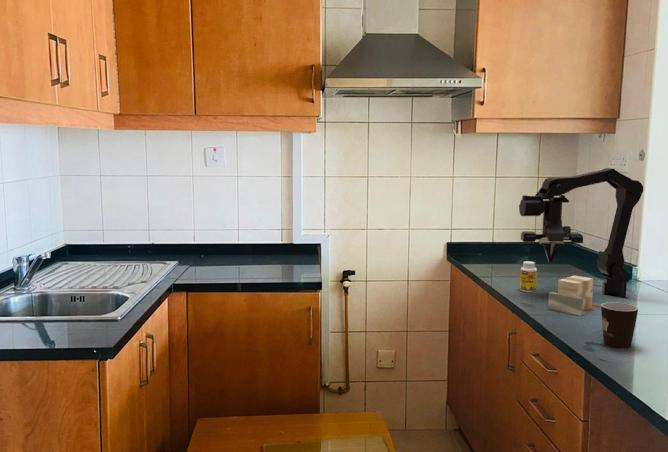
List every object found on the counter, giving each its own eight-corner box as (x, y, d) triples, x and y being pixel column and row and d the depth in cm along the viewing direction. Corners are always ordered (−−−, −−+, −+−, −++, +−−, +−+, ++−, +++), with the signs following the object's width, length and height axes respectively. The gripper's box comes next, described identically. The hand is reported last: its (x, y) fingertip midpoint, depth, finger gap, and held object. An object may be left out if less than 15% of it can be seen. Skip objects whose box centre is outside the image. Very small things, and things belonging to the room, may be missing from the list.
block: (573, 303, 190) (574, 275, 189) (591, 307, 186) (593, 278, 185) (557, 309, 184) (558, 280, 182) (576, 313, 179) (577, 283, 178)
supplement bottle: (518, 291, 212) (519, 262, 211) (521, 288, 217) (522, 260, 216) (534, 293, 209) (535, 264, 208) (537, 290, 214) (539, 261, 213)
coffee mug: (637, 351, 150) (639, 312, 149) (599, 347, 154) (601, 309, 152) (633, 338, 161) (635, 301, 160) (597, 334, 164) (600, 298, 163)
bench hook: (574, 304, 195) (575, 284, 194) (605, 310, 188) (606, 289, 187) (548, 313, 184) (548, 292, 183) (579, 320, 177) (581, 298, 176)
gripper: (527, 218, 192) (525, 267, 194) (588, 219, 190) (586, 268, 192) (521, 214, 203) (519, 260, 205) (579, 215, 201) (577, 261, 203)
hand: (550, 263), depth 201 cm, fingers closed
